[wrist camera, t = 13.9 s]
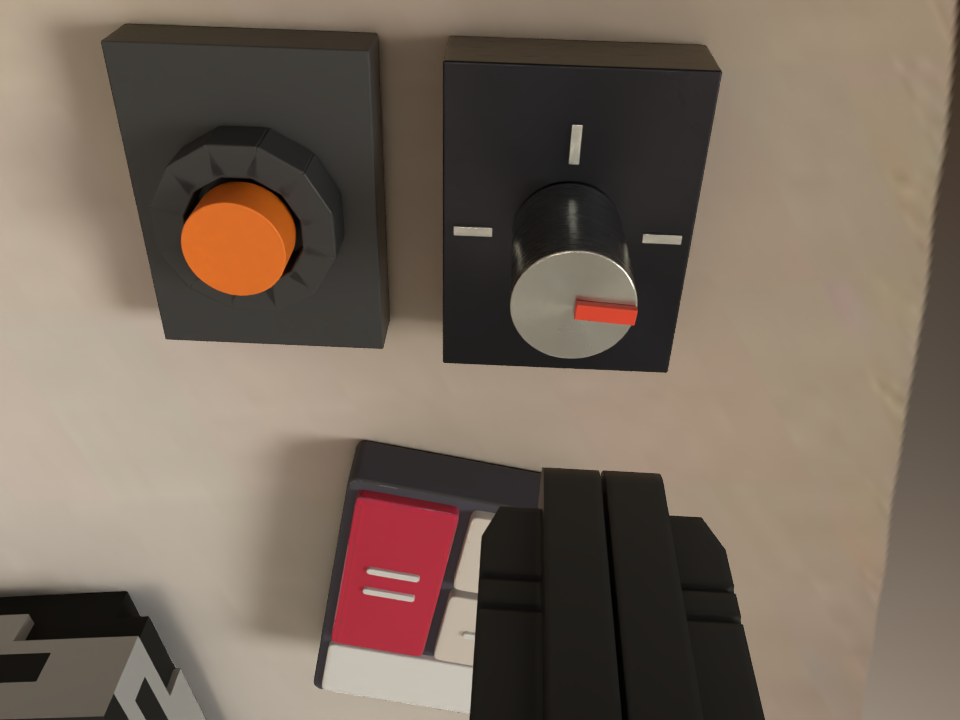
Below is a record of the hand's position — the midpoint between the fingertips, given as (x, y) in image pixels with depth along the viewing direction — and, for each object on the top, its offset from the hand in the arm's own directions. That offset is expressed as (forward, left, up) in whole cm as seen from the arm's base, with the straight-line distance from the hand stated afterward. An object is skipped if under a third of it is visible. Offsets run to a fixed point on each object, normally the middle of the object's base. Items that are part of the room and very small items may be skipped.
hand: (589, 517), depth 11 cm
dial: (+6, +1, -20) cm, 21 cm away
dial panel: (+6, +1, -24) cm, 24 cm away
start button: (+6, -10, -20) cm, 23 cm away
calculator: (+27, -4, -24) cm, 36 cm away
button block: (+6, -11, -24) cm, 26 cm away
